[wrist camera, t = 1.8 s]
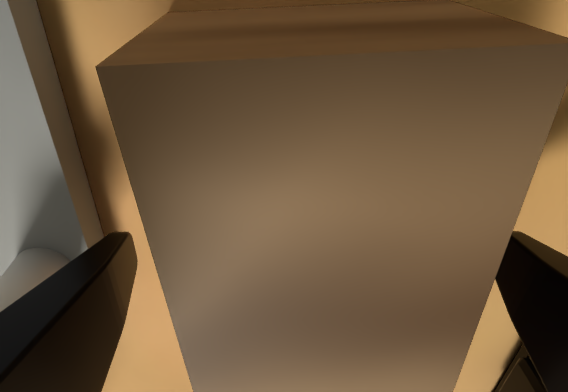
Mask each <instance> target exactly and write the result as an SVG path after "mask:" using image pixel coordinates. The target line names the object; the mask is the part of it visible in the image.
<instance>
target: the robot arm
mask: <svg viewBox="0 0 568 392" xmlns="http://www.w3.org/2000/svg"><path fill="white" fill-rule="evenodd" d="M136 270H137V255H136V251H135V247H134V242H133V238H132V235H131V234H130V233H129V232H111V233H109V234H108V235H107V236H105V237H104V238H102V239H101V240H100V241H98V242H97V243H95V244H94V245H93V246H91V247H90V248H88V249H87V250H86V251H84V252H83V253H82V254H80V255H79V256H77V257H76V258H75V259H73V260H72V261H70V262H69V263H68V264H66V265H65V266H63V267H62V268H61V269H59V270H58V271H56V272H55V273H54V274H52V275H51V276H49V277H48V278H47V279H45V280H44V281H43V282H41V283H40V284H38V285H37V286H36V287H34V288H33V289H31V290H30V291H29V292H27V293H26V294H24V295H23V296H22V297H20V298H19V299H17V300H16V301H15V302H13V303H12V304H10V305H9V306H8V307H6V308H5V309H4V310H2V311H1V312H0V392H101V391H102V388H103V385H104V383H105V380H106V377H107V374H108V371H109V368H110V365H111V362H112V360H113V357H114V354H115V351H116V348H117V345H118V342H119V339H120V337H121V334H122V330H123V327H124V324H125V320H126V316H127V311H128V307H129V302H130V297H131V293H132V288H133V284H134V279H135V275H136ZM495 280H496V282H497V285H498V287H499V290H500V293H501V295H502V298H503V300H504V303H505V306H506V308H507V311H508V313H509V316H510V318H511V320H512V322H513V325H514V327H515V329H516V331H517V333H518V335H519V337H520V339H521V341H522V343H523V345H522V347H521V348H520V350H519V352H518V353H517V355H516V357H515V358H514V360H513V362H512V363H511V365H510V367H509V368H508V370H507V372H506V373H505V375H504V377H503V378H502V380H501V382H500V383H499V385H498V387H497V388H496V390H495V392H568V257H567V256H565V255H564V254H562V253H560V252H558V251H556V250H554V249H552V248H550V247H549V246H547V245H545V244H543V243H541V242H539V241H537V240H535V239H533V238H532V237H530V236H528V235H526V234H524V233H522V232H519V231H512V234H511V237H510V239H509V242H508V245H507V248H506V250H505V253H504V256H503V258H502V261H501V264H500V266H499V269H498V272H497V274H496V277H495Z"/></svg>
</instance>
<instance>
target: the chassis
mask: <svg viewBox="0 0 568 392" xmlns="http://www.w3.org/2000/svg"><path fill="white" fill-rule="evenodd" d="M102 238H104V235H103V231H102V228H101V224H100V221H99V217H98V214H97V211H96V207H95V204H94V200H93V197H92V193H91V190H90V186H89V183H88V179H87V176H86V172H85V169H84V165H83V162H82V158H81V155H80V151H79V148H78V144H77V141H76V138H75V134H74V131H73V127H72V124H71V120H70V117H69V113H68V110H67V106H66V103H65V99H64V96H63V92H62V89H61V85H60V82H59V78H58V75H57V72H56V68H55V65H54V61H53V58H52V54H51V51H50V47H49V44H48V40H47V37H46V33H45V30H44V26H43V23H42V19H41V16H40V12H39V9H38V5H37V2H36V0H0V312H1V311H2V310H4V309H5V308H6V307H8V306H9V305H10V304H12V303H13V302H15V301H16V300H17V299H19V298H20V297H22V296H23V295H24V294H26V293H27V292H29V291H30V290H31V289H33V288H34V287H36V286H37V285H38V284H40V283H41V282H43V281H44V280H45V279H47V278H48V277H49V276H51V275H52V274H54V273H55V272H56V271H58V270H59V269H61V268H62V267H63V266H65V265H66V264H68V263H69V262H70V261H72V260H73V259H75V258H76V257H77V256H79V255H80V254H82V253H83V252H84V251H86V250H87V249H88V248H90V247H91V246H93V245H94V244H95V243H97V242H98V241H100V240H101V239H102Z"/></svg>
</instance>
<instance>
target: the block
mask: <svg viewBox="0 0 568 392" xmlns="http://www.w3.org/2000/svg"><path fill="white" fill-rule="evenodd" d="M95 67H96V71H97V74H98V77H99V81H100V84H101V87H102V91H103V94H104V97H105V100H106V104H107V107H108V110H109V114H110V117H111V120H112V124H113V127H114V130H115V134H116V137H117V140H118V144H119V147H120V150H121V153H122V157H123V160H124V163H125V167H126V170H127V173H128V177H129V180H130V183H131V187H132V190H133V193H134V197H135V200H136V203H137V206H138V210H139V213H140V216H141V220H142V223H143V226H144V230H145V233H146V236H147V240H148V243H149V246H150V250H151V253H152V256H153V259H154V263H155V266H156V269H157V273H158V276H159V279H160V283H161V286H162V289H163V293H164V296H165V299H166V303H167V306H168V309H169V312H170V316H171V319H172V322H173V326H174V329H175V332H176V336H177V339H178V342H179V346H180V349H181V352H182V356H183V359H184V362H185V365H186V369H187V372H188V375H189V379H190V382H191V385H192V389H193V392H453V390H454V388H455V385H456V382H457V380H458V377H459V374H460V372H461V369H462V366H463V363H464V361H465V358H466V355H467V353H468V350H469V347H470V345H471V342H472V339H473V337H474V334H475V331H476V328H477V326H478V323H479V320H480V318H481V315H482V312H483V310H484V307H485V304H486V301H487V299H488V296H489V293H490V291H491V288H492V285H493V283H494V280H495V277H496V274H497V272H498V269H499V266H500V264H501V261H502V258H503V256H504V253H505V250H506V248H507V245H508V242H509V239H510V237H511V234H512V231H513V229H514V226H515V223H516V221H517V218H518V215H519V212H520V210H521V207H522V204H523V202H524V199H525V196H526V194H527V191H528V188H529V186H530V183H531V180H532V177H533V175H534V172H535V169H536V167H537V164H538V161H539V159H540V156H541V153H542V150H543V148H544V145H545V142H546V140H547V137H548V134H549V132H550V129H551V126H552V123H553V121H554V118H555V115H556V113H557V110H558V107H559V105H560V102H561V99H562V97H563V94H564V91H565V88H566V86H567V83H568V38H567V37H563V36H560V35H557V34H554V33H551V32H548V31H545V30H541V29H538V28H535V27H532V26H529V25H526V24H523V23H520V22H516V21H513V20H510V19H507V18H504V17H501V16H498V15H495V14H491V13H488V12H485V11H482V10H479V9H476V8H473V7H469V6H466V5H463V4H460V3H457V2H454V1H451V0H419V1H398V2H376V3H355V4H334V5H313V6H292V7H270V8H249V9H228V10H207V11H186V12H168V13H167V14H165V15H164V16H162V17H161V18H160V19H158V20H157V21H156V22H154V23H153V24H152V25H150V26H149V27H148V28H146V29H145V30H144V31H142V32H141V33H140V34H138V35H137V36H136V37H134V38H133V39H132V40H130V41H129V42H128V43H126V44H125V45H124V46H122V47H121V48H120V49H118V50H117V51H116V52H114V53H113V54H112V55H110V56H109V57H108V58H106V59H105V60H104V61H102V62H101V63H100V64H98V65H97V66H95Z"/></svg>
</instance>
